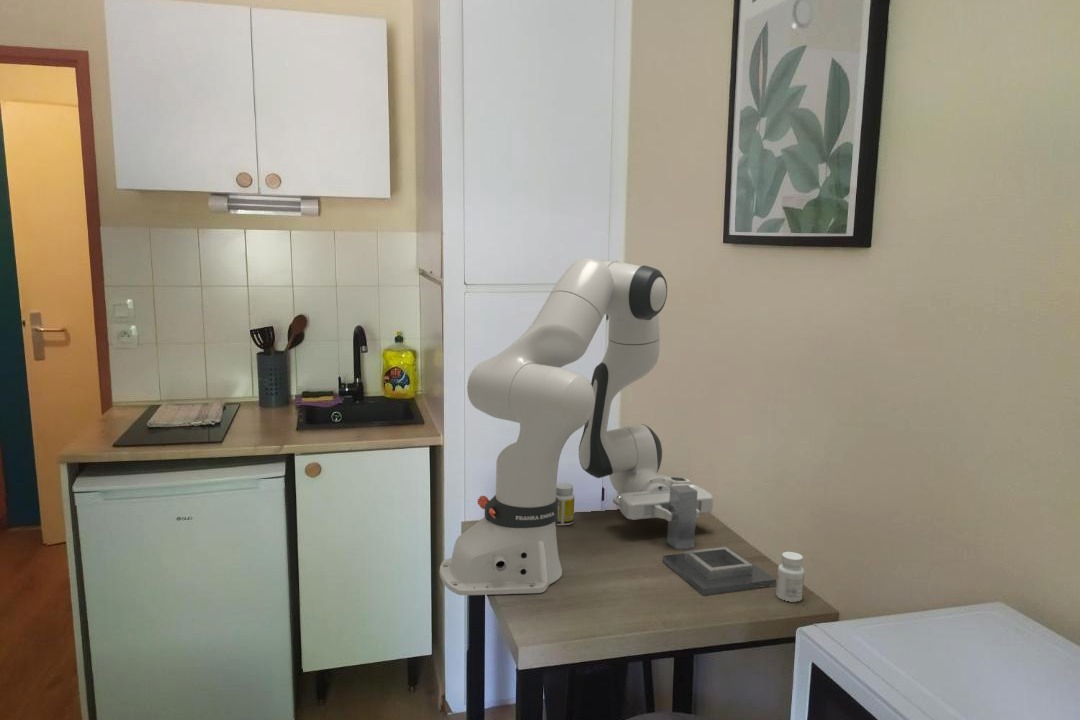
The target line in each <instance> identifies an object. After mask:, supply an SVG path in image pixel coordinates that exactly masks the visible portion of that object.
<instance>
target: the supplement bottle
mask: <svg viewBox="0 0 1080 720" xmlns="http://www.w3.org/2000/svg"><path fill="white" fill-rule="evenodd" d="M556 497H557V498H558V508H559V514H558V523H557V524H562V525H567V524H572V523H573V524H574V520H575V494H574V486H573V484H571V483H566V482H560V483H557V487H556ZM573 524H572V525H573Z"/></svg>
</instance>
